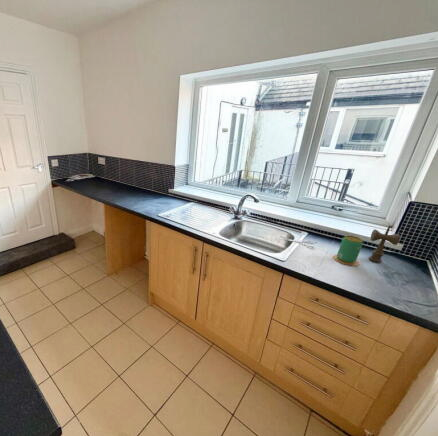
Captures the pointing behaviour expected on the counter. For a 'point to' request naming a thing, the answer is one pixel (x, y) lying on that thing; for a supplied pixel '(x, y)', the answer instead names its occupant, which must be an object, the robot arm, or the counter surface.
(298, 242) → the scissors
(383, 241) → the kendama
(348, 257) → the beverage can
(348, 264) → the cork coaster
